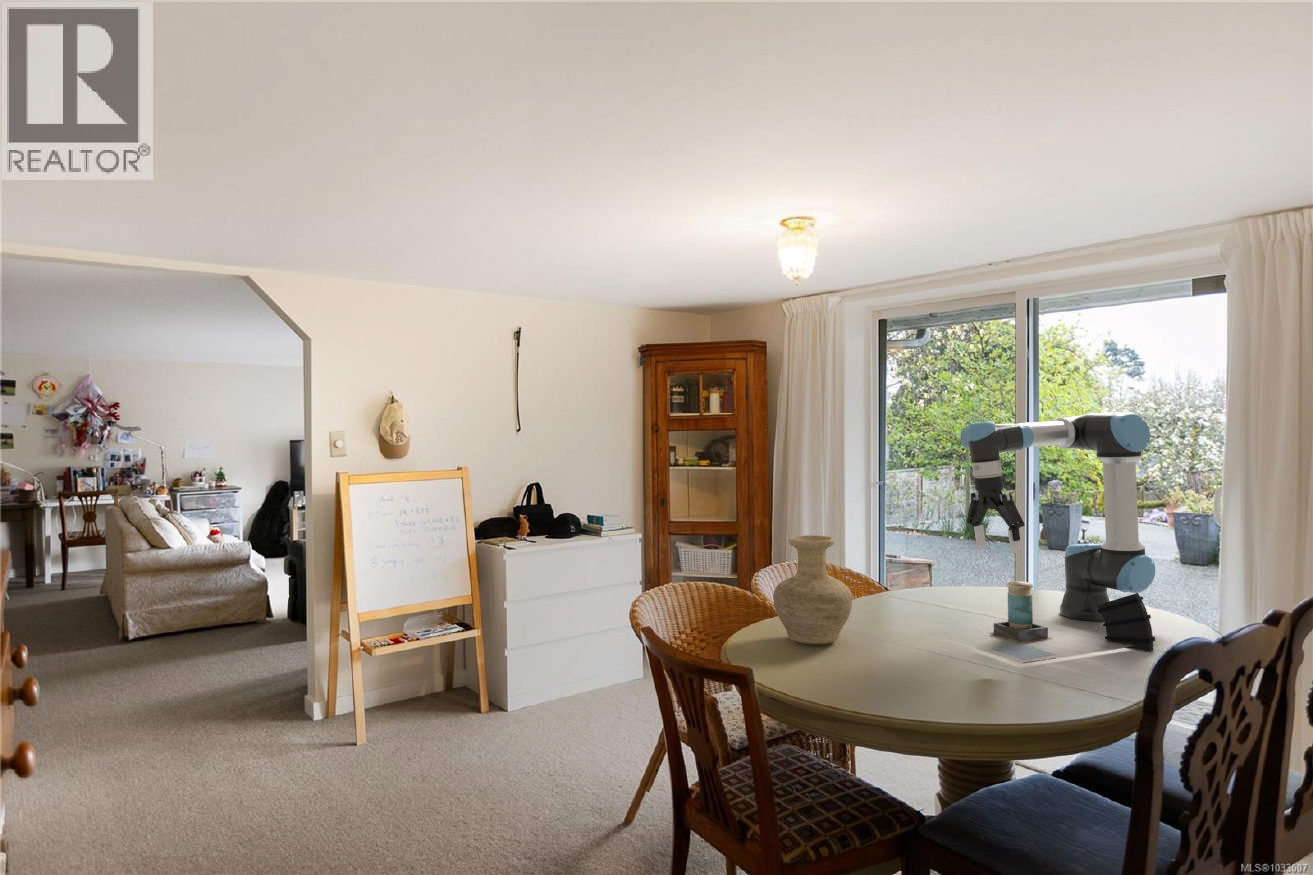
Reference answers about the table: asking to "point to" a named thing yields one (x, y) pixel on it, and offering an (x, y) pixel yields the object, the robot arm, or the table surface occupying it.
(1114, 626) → the magazine
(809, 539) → the vase
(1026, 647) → the rubber mat
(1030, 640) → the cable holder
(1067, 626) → the table surface
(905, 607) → the table surface
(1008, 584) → the disc
